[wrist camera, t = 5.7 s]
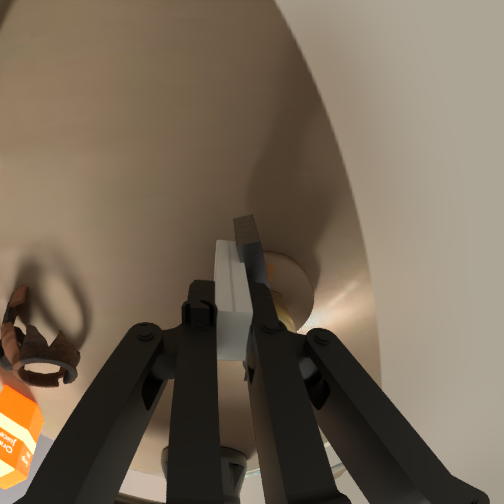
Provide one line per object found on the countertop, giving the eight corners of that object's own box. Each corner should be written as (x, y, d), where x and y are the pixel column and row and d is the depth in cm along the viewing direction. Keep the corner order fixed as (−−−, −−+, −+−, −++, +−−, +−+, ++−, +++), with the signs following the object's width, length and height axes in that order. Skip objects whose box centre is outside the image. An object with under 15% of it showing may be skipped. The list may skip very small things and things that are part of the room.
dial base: (293, 335, 24) (296, 347, 22) (205, 328, 22) (204, 340, 21) (321, 259, 21) (328, 269, 19) (217, 243, 19) (217, 253, 18)
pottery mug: (38, 264, 19) (36, 343, 14) (91, 311, 26) (104, 376, 22) (-21, 310, 17) (-25, 377, 12) (30, 344, 24) (37, 402, 20)
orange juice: (13, 404, 29) (-12, 478, 12) (4, 383, 26) (-29, 467, 8) (44, 422, 32) (23, 500, 14) (38, 404, 29) (10, 495, 11)
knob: (290, 321, 21) (306, 370, 16) (243, 331, 21) (249, 383, 16) (272, 208, 17) (291, 241, 12) (212, 221, 17) (208, 260, 12)
